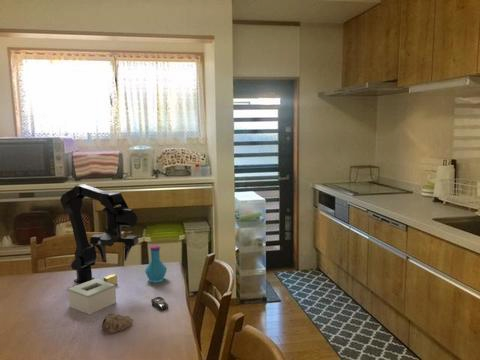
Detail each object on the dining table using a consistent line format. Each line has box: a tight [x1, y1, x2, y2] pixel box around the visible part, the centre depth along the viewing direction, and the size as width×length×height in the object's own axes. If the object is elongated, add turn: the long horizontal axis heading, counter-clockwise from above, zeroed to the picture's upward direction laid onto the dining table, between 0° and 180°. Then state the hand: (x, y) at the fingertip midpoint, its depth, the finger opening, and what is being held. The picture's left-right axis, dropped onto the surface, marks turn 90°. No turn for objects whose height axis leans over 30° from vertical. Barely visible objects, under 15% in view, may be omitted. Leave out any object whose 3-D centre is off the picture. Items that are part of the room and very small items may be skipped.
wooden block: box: [103, 273, 118, 286], centre depth 169 cm, size 2×5×4 cm, turn 146°
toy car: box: [148, 280, 169, 311], centre depth 150 cm, size 4×12×8 cm, turn 38°
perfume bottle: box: [144, 245, 168, 283], centre depth 174 cm, size 9×9×15 cm
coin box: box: [67, 278, 117, 315], centre depth 151 cm, size 12×12×7 cm
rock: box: [100, 312, 134, 335], centre depth 133 cm, size 9×6×10 cm
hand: (114, 259), depth 164 cm, fingers open, 9 cm apart
